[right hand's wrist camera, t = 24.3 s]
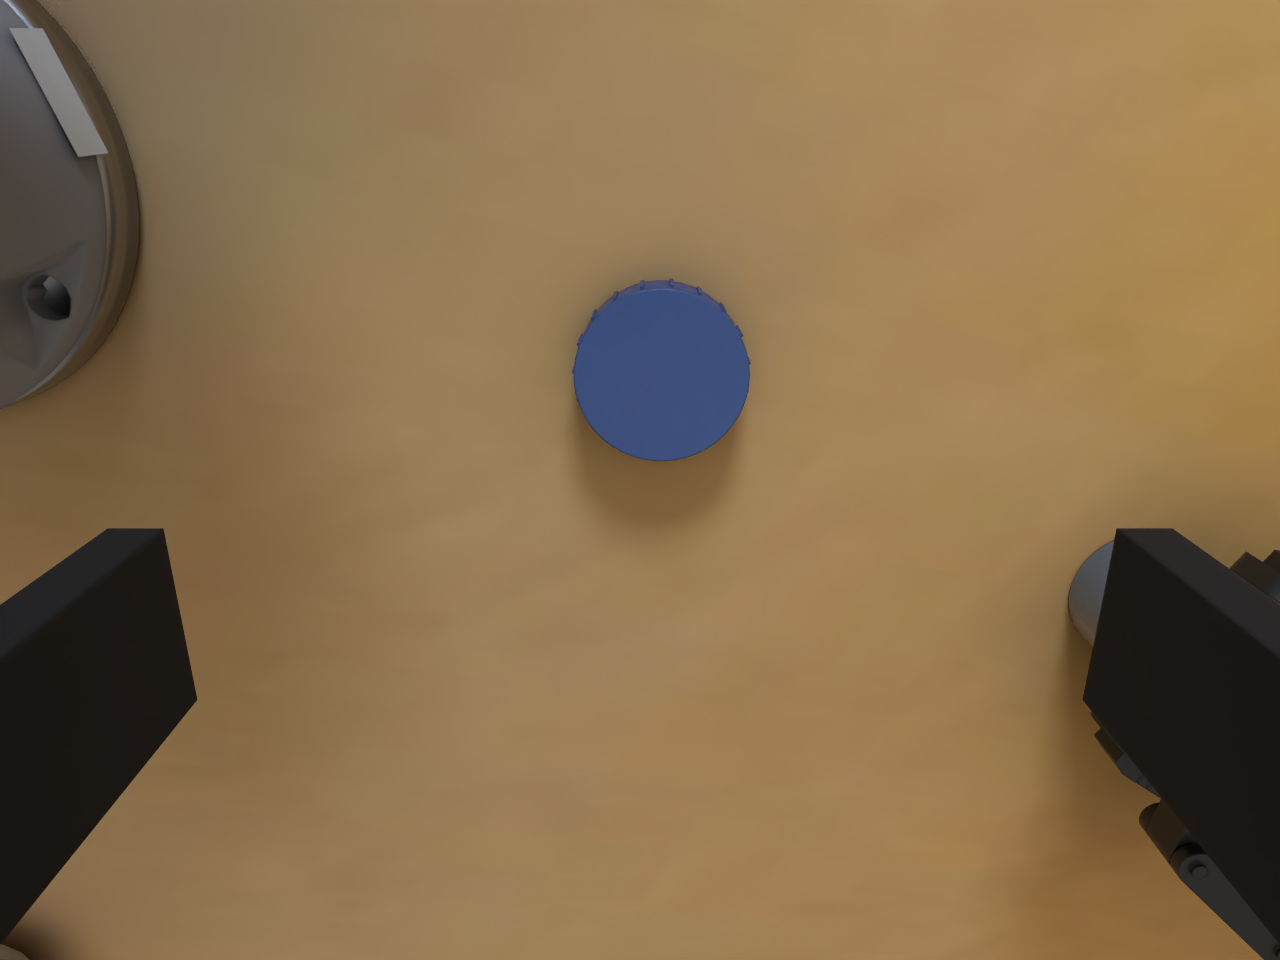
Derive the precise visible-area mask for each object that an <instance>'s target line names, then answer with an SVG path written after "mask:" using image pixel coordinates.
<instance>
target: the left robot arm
mask: <svg viewBox="0 0 1280 960" xmlns="http://www.w3.org/2000/svg"><path fill="white" fill-rule="evenodd" d="M1229 569H1230V570H1232V571H1233V572H1235V573H1236V574H1237V575H1239V576H1240V577H1242V578H1243V579H1244V580H1246V581H1247V582H1249V583H1250V584H1252V585H1253V586H1254V587H1256V588H1257V589H1259V590H1260V591H1262V592H1263V593H1264V594H1266V595H1267V596H1269V597H1270V598H1271V599H1273V600H1274V601H1276V602H1277V603H1279V604H1280V551H1278V550H1274V551H1273V552H1272V553H1271V554H1270V555H1269V556H1268V557H1267V558H1266V559H1265V560H1264V561H1263V562H1261V561H1260V560H1258V559H1257V558H1255V557H1254V556H1252V555H1251V554H1249V553H1248V552H1245V553H1244V554H1243V555H1242V556H1241V557H1240V558H1239V559H1238V560H1237V561H1236V562H1235V563H1234V564H1233V565H1232V566H1231V567H1230V568H1229ZM1090 714H1091V716H1092V717H1093V718H1094V720H1095V721H1096V722H1097V723H1098V725H1099V726H1100V727H1101V728H1100V729H1099V730H1098V731H1097V732H1096V733H1095V735H1094V736H1095V737H1096V739H1097V740H1098V742H1099V744H1100V745H1101V747H1102V748H1103V749H1104V751H1105V752H1106V753H1107V755H1108V756H1109V757H1110V758H1111V760H1112V761H1113V762H1114V764H1115V765H1116V766H1117V768H1118V769H1119V770H1120V772H1121V773H1122V774H1123V775H1124V776H1126V777H1128V778H1129V779H1131V780H1132V781H1134V782H1136V783H1138V784H1139V785H1140V786H1142V787H1144V788H1145V789H1147V790H1148V791H1150V792H1152V793H1153V794H1155V795H1156V796H1158V797H1160V798H1161V796H1160V795H1159V794H1158V793H1157V791H1156V790H1155V789H1154V788H1153V786H1152V785H1151V784H1150V783H1149V781H1148V780H1147V779H1146V778H1145V776H1144V775H1143V774H1142V773H1141V772H1140V770H1139V769H1138V768H1137V767H1136V765H1135V764H1134V763H1133V762H1132V760H1131V759H1130V758H1129V757H1128V755H1127V754H1126V753H1125V752H1124V750H1123V749H1122V748H1121V747H1120V745H1119V744H1118V743H1117V742H1116V740H1115V739H1114V738H1113V737H1112V735H1111V734H1110V733H1109V732H1108V730H1107V729H1106V728H1105V727H1104V726H1103V724H1102V723H1101V722H1100V721H1099V719H1098V718H1097V717H1096V716H1095V714H1094V713H1093V712H1091V713H1090ZM1139 822H1140V825H1141V826H1142V828H1143V829H1144V831H1145V832H1146V833H1147V835H1148V836H1149V837H1150V839H1151V840H1152V841H1153V843H1154V844H1155V845H1156V847H1157V848H1158V850H1159V851H1160V852H1161V854H1162V855H1163V856H1164V858H1165V859H1166V860H1167V862H1168V863H1169V864H1170V866H1171V867H1172V869H1173V870H1174V871H1175V873H1176V874H1177V875H1178V877H1179V878H1180V879H1181V880H1182V881H1183V882H1184V883H1185V884H1186V885H1187V886H1188V887H1189V888H1190V889H1191V890H1192V891H1193V892H1194V893H1195V894H1196V895H1197V896H1198V897H1199V898H1200V899H1201V900H1202V901H1203V902H1204V903H1205V904H1207V905H1208V906H1209V907H1210V908H1211V909H1212V910H1213V911H1214V912H1215V913H1216V914H1217V915H1218V916H1219V917H1220V918H1221V919H1222V920H1223V921H1224V922H1225V923H1226V924H1227V925H1228V926H1229V927H1231V928H1232V929H1233V930H1234V931H1235V932H1236V933H1237V934H1238V935H1239V936H1240V937H1241V938H1242V939H1243V940H1244V941H1245V942H1246V943H1247V944H1248V945H1249V946H1250V947H1251V948H1252V949H1253V950H1254V951H1256V952H1257V953H1258V954H1259V955H1260V956H1261V957H1262V958H1263V959H1264V960H1280V944H1279V943H1278V942H1277V941H1276V939H1275V938H1274V937H1273V936H1272V934H1271V933H1270V932H1269V931H1268V929H1267V928H1266V927H1265V926H1264V924H1263V923H1262V922H1261V921H1260V919H1259V918H1258V917H1257V916H1256V914H1255V913H1254V912H1253V911H1252V910H1251V908H1250V907H1249V906H1248V905H1247V903H1246V902H1245V901H1244V900H1243V898H1242V897H1241V896H1240V895H1239V893H1238V892H1237V891H1236V890H1235V888H1234V887H1233V886H1232V885H1231V883H1230V882H1229V881H1228V880H1227V878H1226V877H1225V876H1224V875H1223V873H1222V872H1221V871H1220V870H1219V868H1218V867H1217V866H1216V865H1215V864H1214V862H1213V861H1212V860H1211V859H1210V857H1209V856H1208V855H1207V854H1206V852H1205V851H1204V850H1203V849H1202V847H1201V846H1200V845H1199V844H1198V842H1197V841H1196V840H1195V839H1194V837H1193V836H1192V835H1191V834H1190V832H1189V831H1188V830H1187V829H1186V827H1185V826H1184V825H1183V824H1182V822H1181V821H1180V820H1179V819H1178V818H1177V816H1176V815H1175V814H1174V813H1173V811H1172V810H1171V809H1170V808H1169V806H1168V805H1167V804H1166V803H1165V801H1164V800H1163V799H1162V798H1161V800H1160V803H1154V804H1151V805H1149V806H1148V807H1146V808H1145V809H1144V810H1143V811H1142V812H1141V814H1140V817H1139Z"/></svg>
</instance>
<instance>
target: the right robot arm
mask: <svg viewBox="0 0 1280 960" xmlns="http://www.w3.org/2000/svg"><path fill="white" fill-rule="evenodd" d="M138 243H139V210H138V198H137V190H136V184H135V178H134V173H133V168H132V164H131V160H130V156H129V153H128V149H127V145H126V142H125V139H124V137H123V134H122V131H121V128H120V125H119V123H118V120H117V118H116V115H115V113H114V111H113V109H112V107H111V104H110V102H109V100H108V98H107V96H106V94H105V92H104V90H103V88H102V86H101V85H100V83H99V81H98V79H97V77H96V76H95V74H94V72H93V70H92V69H91V67H90V66H89V64H88V63H87V61H86V60H85V58H84V57H83V55H82V54H81V52H80V51H79V49H78V48H77V46H76V45H75V44H74V42H73V41H72V40H71V39H70V37H69V36H68V35H67V34H66V32H65V31H64V30H63V28H62V27H61V26H60V25H59V23H58V22H57V21H56V20H55V19H54V18H53V17H52V16H51V15H50V14H49V13H48V12H47V10H46V9H45V8H44V7H43V6H42V5H41V4H40V3H39V2H38V1H37V0H0V409H1V408H4V407H6V406H9V405H12V404H14V403H17V402H20V401H22V400H25V399H28V398H30V397H32V396H34V395H37V394H39V393H41V392H44V391H46V390H48V389H49V388H51V387H53V386H55V385H56V384H58V383H60V382H61V381H63V380H64V379H66V378H67V377H68V376H70V375H71V374H72V373H74V372H75V371H76V370H78V369H79V368H80V367H81V366H82V365H83V364H84V363H85V362H86V361H87V360H88V359H89V358H90V357H91V356H92V355H93V354H94V353H95V352H96V350H97V349H98V348H99V347H100V346H101V344H102V343H103V342H104V341H105V339H106V338H107V336H108V334H109V333H110V331H111V330H112V328H113V326H114V325H115V323H116V321H117V319H118V317H119V315H120V313H121V311H122V309H123V307H124V304H125V302H126V299H127V296H128V293H129V290H130V287H131V284H132V279H133V275H134V271H135V266H136V260H137V251H138ZM196 701H197V696H196V691H195V686H194V681H193V676H192V671H191V666H190V661H189V656H188V651H187V646H186V640H185V635H184V630H183V625H182V620H181V615H180V610H179V605H178V600H177V595H176V590H175V585H174V580H173V575H172V570H171V565H170V560H169V555H168V550H167V545H166V540H165V535H164V530H163V529H106V530H105V531H104V532H102V533H101V534H99V535H98V536H97V537H95V538H94V539H92V540H91V541H90V542H88V543H87V544H85V545H84V546H83V547H81V548H80V549H78V550H77V551H75V552H74V553H73V554H71V555H70V556H68V557H67V558H66V559H64V560H63V561H61V562H60V563H59V564H57V565H56V566H54V567H53V568H52V569H50V570H49V571H47V572H46V573H45V574H43V575H42V576H40V577H39V578H38V579H36V580H35V581H33V582H32V583H31V584H29V585H28V586H26V587H25V588H24V589H22V590H21V591H19V592H18V593H17V594H15V595H14V596H12V597H11V598H10V599H8V600H7V601H5V602H4V603H3V604H1V605H0V944H1V943H2V942H3V941H4V939H5V938H6V937H7V936H8V934H9V933H10V932H11V931H12V929H13V928H14V927H15V926H16V924H17V923H18V922H19V921H20V919H21V918H22V917H23V916H24V914H25V913H26V912H27V911H28V910H29V908H30V907H31V906H32V905H33V903H34V902H35V901H36V900H37V898H38V897H39V896H40V895H41V893H42V892H43V891H44V890H45V888H46V887H47V886H48V885H49V883H50V882H51V881H52V880H53V878H54V877H55V876H56V875H57V873H58V872H59V871H60V870H61V868H62V867H63V866H64V865H65V864H66V862H67V861H68V860H69V859H70V857H71V856H72V855H73V854H74V852H75V851H76V850H77V849H78V847H79V846H80V845H81V844H82V842H83V841H84V840H85V839H86V837H87V836H88V835H89V834H90V832H91V831H92V830H93V829H94V827H95V826H96V825H97V824H98V822H99V821H100V820H101V819H102V818H103V816H104V815H105V814H106V813H107V811H108V810H109V809H110V808H111V806H112V805H113V804H114V803H115V801H116V800H117V799H118V798H119V796H120V795H121V794H122V793H123V791H124V790H125V789H126V788H127V786H128V785H129V784H130V783H131V781H132V780H133V779H134V778H135V776H136V775H137V774H138V773H139V772H140V770H141V769H142V768H143V767H144V765H145V764H146V763H147V762H148V760H149V759H150V758H151V757H152V755H153V754H154V753H155V752H156V750H157V749H158V748H159V747H160V745H161V744H162V743H163V742H164V740H165V739H166V738H167V737H168V735H169V734H170V733H171V732H172V730H173V729H174V728H175V727H176V726H177V724H178V723H179V722H180V721H181V719H182V718H183V717H184V716H185V714H186V713H187V712H188V711H189V709H190V708H191V707H192V706H193V704H194V703H195V702H196ZM1083 701H1084V702H1085V703H1086V704H1087V706H1088V707H1089V708H1090V709H1091V711H1092V712H1093V713H1094V714H1095V716H1096V717H1097V718H1098V719H1099V721H1100V722H1101V723H1102V724H1103V726H1104V727H1105V728H1106V729H1107V730H1108V732H1109V733H1110V734H1111V735H1112V737H1113V738H1114V739H1115V740H1116V742H1117V743H1118V744H1119V745H1120V747H1121V748H1122V749H1123V750H1124V752H1125V753H1126V754H1127V755H1128V757H1129V758H1130V759H1131V760H1132V762H1133V763H1134V764H1135V765H1136V767H1137V768H1138V769H1139V770H1140V772H1141V773H1142V774H1143V775H1144V776H1145V778H1146V779H1147V780H1148V781H1149V783H1150V784H1151V785H1152V786H1153V788H1154V789H1155V790H1156V791H1157V793H1158V794H1159V795H1160V796H1161V798H1162V799H1163V800H1164V801H1165V803H1166V804H1167V805H1168V806H1169V808H1170V809H1171V810H1172V811H1173V813H1174V814H1175V815H1176V816H1177V818H1178V819H1179V820H1180V821H1181V822H1182V824H1183V825H1184V826H1185V827H1186V829H1187V830H1188V831H1189V832H1190V834H1191V835H1192V836H1193V837H1194V839H1195V840H1196V841H1197V842H1198V844H1199V845H1200V846H1201V847H1202V849H1203V850H1204V851H1205V852H1206V854H1207V855H1208V856H1209V857H1210V859H1211V860H1212V861H1213V862H1214V864H1215V865H1216V866H1217V867H1218V868H1219V870H1220V871H1221V872H1222V873H1223V875H1224V876H1225V877H1226V878H1227V880H1228V881H1229V882H1230V883H1231V885H1232V886H1233V887H1234V888H1235V890H1236V891H1237V892H1238V893H1239V895H1240V896H1241V897H1242V898H1243V900H1244V901H1245V902H1246V903H1247V905H1248V906H1249V907H1250V908H1251V910H1252V911H1253V912H1254V913H1255V914H1256V916H1257V917H1258V918H1259V919H1260V921H1261V922H1262V923H1263V924H1264V926H1265V927H1266V928H1267V929H1268V931H1269V932H1270V933H1271V934H1272V936H1273V937H1274V938H1275V939H1276V941H1277V942H1278V943H1279V944H1280V605H1279V604H1277V603H1276V602H1275V601H1273V600H1272V599H1270V598H1269V597H1268V596H1266V595H1265V594H1263V593H1262V592H1261V591H1259V590H1258V589H1256V588H1255V587H1254V586H1252V585H1251V584H1249V583H1248V582H1247V581H1245V580H1244V579H1242V578H1241V577H1240V576H1238V575H1237V574H1235V573H1234V572H1233V571H1231V570H1230V569H1228V568H1227V567H1226V566H1224V565H1223V564H1221V563H1220V562H1219V561H1217V560H1216V559H1214V558H1213V557H1212V556H1210V555H1209V554H1207V553H1206V552H1205V551H1203V550H1202V549H1200V548H1199V547H1197V546H1196V545H1195V544H1193V543H1192V542H1190V541H1189V540H1188V539H1186V538H1185V537H1183V536H1182V535H1181V534H1179V533H1178V532H1176V531H1175V530H1174V529H1117V530H1116V535H1115V540H1114V545H1113V550H1112V555H1111V560H1110V565H1109V570H1108V575H1107V580H1106V585H1105V590H1104V595H1103V600H1102V605H1101V610H1100V615H1099V620H1098V625H1097V630H1096V635H1095V640H1094V645H1093V651H1092V656H1091V661H1090V666H1089V671H1088V676H1087V681H1086V686H1085V691H1084V696H1083Z"/></svg>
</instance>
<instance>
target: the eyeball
mask: <svg viewBox="0 0 1280 960" xmlns="http://www.w3.org/2000/svg"><path fill="white" fill-rule="evenodd" d="M0 960H29V959H28V958H27V957H26V956H25V955H24V954H23V953H21V952H19V951H17V950H15V949H12V948H10V947H8V946H5V945H3V944H0Z"/></svg>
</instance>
